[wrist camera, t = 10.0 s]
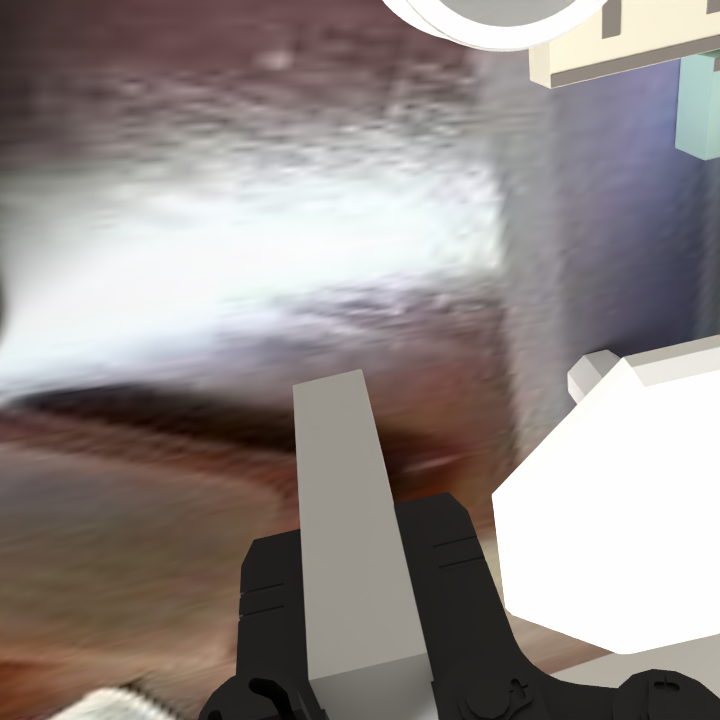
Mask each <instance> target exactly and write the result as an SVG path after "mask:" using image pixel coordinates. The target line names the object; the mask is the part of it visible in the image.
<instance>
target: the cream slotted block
mask: <svg viewBox="0 0 720 720" xmlns="http://www.w3.org/2000/svg"><path fill="white" fill-rule="evenodd" d="M717 49H720V0H608V1H607V2H606V3H605V4H604V5H603V6H602V7H601V8H600V9H599V10H598V11H597V12H596V13H594V14H593V15H592V16H591V17H590V18H589V19H587V20H586V21H585V22H583V23H582V24H581V25H579V26H578V27H576V28H575V29H573V30H572V31H570V32H569V33H567V34H565V35H563V36H561V37H559V38H557V39H555V40H553V41H551V42H548V43H546V44H543V45H540V46H537V47H533V48H529V66H530V80H531V81H533V82H536V83H538V84H541V85H543V86H546V87H548V88H550V89H552V88H556V87H560V86H564V85H569V84H573V83H577V82H581V81H586V80H590V79H594V78H598V77H603V76H607V75H611V74H615V73H619V72H624V71H628V70H632V69H636V68H641V67H645V66H649V65H653V64H658V63H662V62H666V61H670V60H675V59H679V58H683V57H687V56H692V55H696V54H700V53H704V52H709V51H713V50H717Z"/></svg>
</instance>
